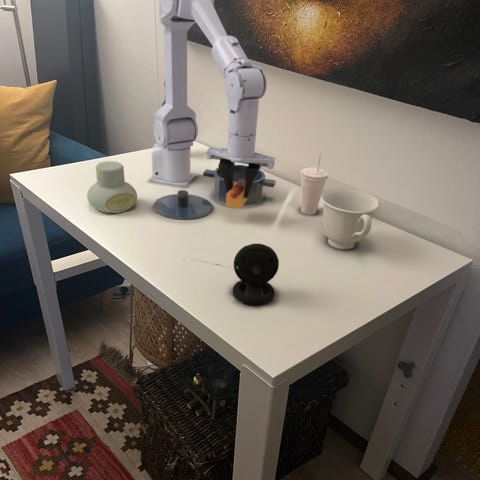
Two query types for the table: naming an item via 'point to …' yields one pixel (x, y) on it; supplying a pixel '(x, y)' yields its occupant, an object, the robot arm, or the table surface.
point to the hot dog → (236, 195)
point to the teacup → (347, 216)
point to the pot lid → (182, 206)
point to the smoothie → (312, 187)
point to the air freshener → (111, 189)
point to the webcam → (255, 273)
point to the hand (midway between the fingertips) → (237, 195)
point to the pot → (238, 174)
